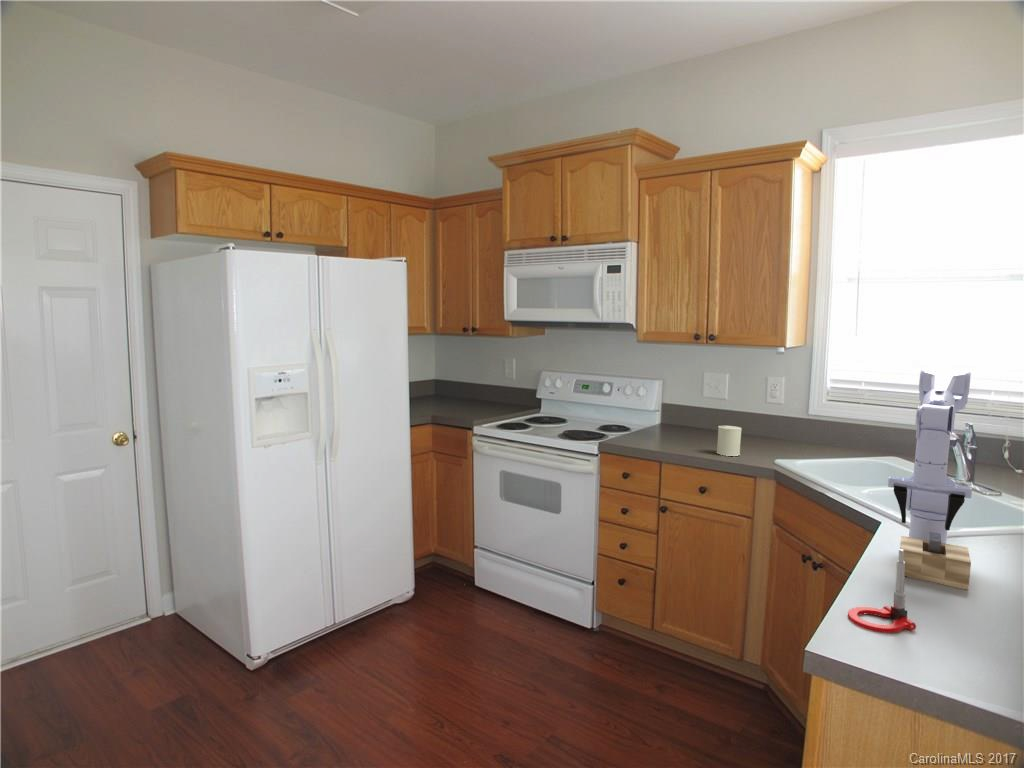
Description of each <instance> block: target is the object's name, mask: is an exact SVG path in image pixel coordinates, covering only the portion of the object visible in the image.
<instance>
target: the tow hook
mask: <svg viewBox="0 0 1024 768" xmlns="http://www.w3.org/2000/svg"><path fill="white" fill-rule="evenodd" d="M904 574H905V562H904V550H902V549H900V548H899V549H898V560H897V561H896V576H895V577H896V578H895V579H896V580H895V592H894V594H893V605H890V607H889V606H888V605H884V606H883V607H882V608H877V607H871V606H856V607H851V608H850V609H849V610H848V611H847V618H848V620H849V621H850V622H851V623H853V624H854V625H856V626H858V627H859V628H862V627H863V629H865V630H869V631H873V632H877V633H882V632H883V633H887V634H888V633H889V634H891V633H892V634H894V633H899V632H901V631H903V630H905V629H906V630H908V631H911V630H913V631H915V630H916V628H917V624H916V623H915V622H913V621H911V619H909V618H908V609H907V608H906V594H905V576H904ZM864 613H867V614H866V615H872V614H876V615H875V616H878V615H880V616H879V617H881V616H882V618H891V620H893V623H890V624H879V623H874V622H873V623H872V622H870V621H867V620H864V619H862V618H861V617H860V616H861V615H860V614H862V615H865V614H864ZM858 615H859V616H858Z"/></svg>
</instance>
